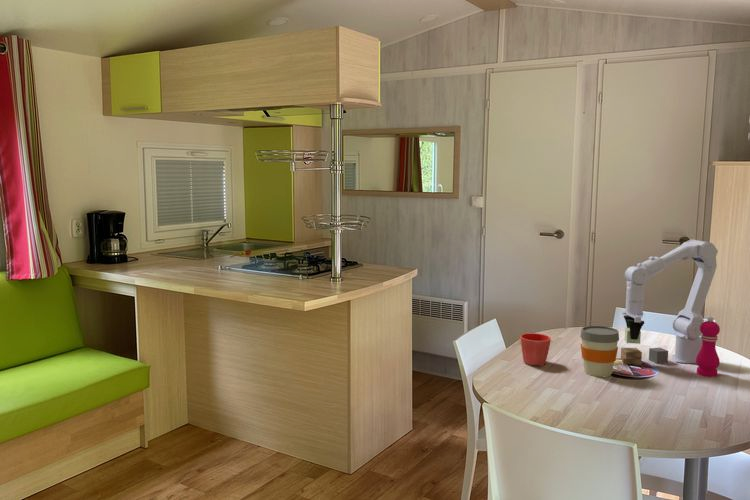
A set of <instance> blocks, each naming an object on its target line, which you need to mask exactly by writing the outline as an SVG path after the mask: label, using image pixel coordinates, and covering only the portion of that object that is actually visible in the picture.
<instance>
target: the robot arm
mask: <svg viewBox="0 0 750 500" xmlns="http://www.w3.org/2000/svg"><path fill="white" fill-rule="evenodd" d="M718 252H719V251H718V248H717V247H716V246H715V244H713V242H710V241H704V240H698V239H696V238H695V239H694V238H692V239H689V240H687V241H684V242H683V243H682V244H681V245H679V246H678V247H677V246H676V248H674V249H672V250H671V251H669V252H667V253H665V254H663V255H662V256H660V257H658V256H652V255H651V256H649V257H648V259H647V260H645V261H643V262H638V263H637V265H636V266H634V265H633V266H629V267H628V268H627V269H626V270H625V272H624V273H623V277H624V279H625V280H626V291H625V292H626V298H625V311H621V314H622V315H623V318H624V320H625V323H626V328H630V336H631V339H635V340H637V339H638V336H639V333H640V331H641V330H642V327H644V324H645V321H644V320H642V318H643V316H644V312H643V311H644V292H645V284H646V282H647V281H648V280H649V279H650V278H652V277H653V276H655V275H657V274H659V273H662V272H663V271H664V270H665V267H666V266H668V265H671V264H672V263H675V262H677V261H678V260H679V261H680V260H682V259H684V258H691V260H693V261H694V263H695V264H696V266H697V267H698V268H697V271H696V274H695V277H694V280H693V283H692V285H691V288H690V292H689V295H688V297H687V301H686V303H685V305H684V307H683V309H681V310H680V311H678V314H677V316H676V317H675V318H674V319H673V321H672V329H673V330H674V331H675V346H674V347H675V349H674V354H671V357H672V359H673V360H674V361H675V362H676V363H679V364H681V363H682V364H696V365H697V363H696V357H697V355H698V353H699V351H700V350H701V347H702V339H701V335H702V333H701V331H700V326H701V324H702V323H703V322H705V321H704V318H703V315H702V311H703V308H704V305H705V302H706V299H707V296H708V293H709V290H710V289H711V288H710V287H711V285H712V282H713V278H714V276H715V273H716V270H717V255H718Z"/></svg>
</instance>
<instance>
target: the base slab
mask: <svg viewBox="0 0 750 500" xmlns="http://www.w3.org/2000/svg"><path fill="white" fill-rule="evenodd" d="M621 360H622V361H621ZM620 361H621V363H622V362H623V363H622V365H624V364H634V365H633V366H642V359H625V358H624V357H623V356H622V355H621V354H620Z"/></svg>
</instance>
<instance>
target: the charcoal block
mask: <svg viewBox="0 0 750 500" xmlns="http://www.w3.org/2000/svg"><path fill="white" fill-rule="evenodd" d="M648 349H649V350H648V361H650V362H651V363H654V364H658V365H659V364H660V365H661V364H667V363H669V362H668V360H669V350H667V349H665V348H662V347H651V348H648Z"/></svg>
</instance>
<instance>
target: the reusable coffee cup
mask: <svg viewBox="0 0 750 500" xmlns="http://www.w3.org/2000/svg"><path fill="white" fill-rule="evenodd" d="M580 329H581V331H580V338H581V344H580V351H581V358H582V359H583V368H584V373H585V374H587V375H588V376H589V375H590V376H593V377H601V378H603V377H604V378H606V377H610V376H612V375H611V374H613V370H614V363H615V362H616V360H617V356H618V351H619V347H618V342H619V341H620V335H619V334H620V332H619V330H618V329H616V328H614V327H610V326H604V325H587V326H583V327H581V328H580Z"/></svg>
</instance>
